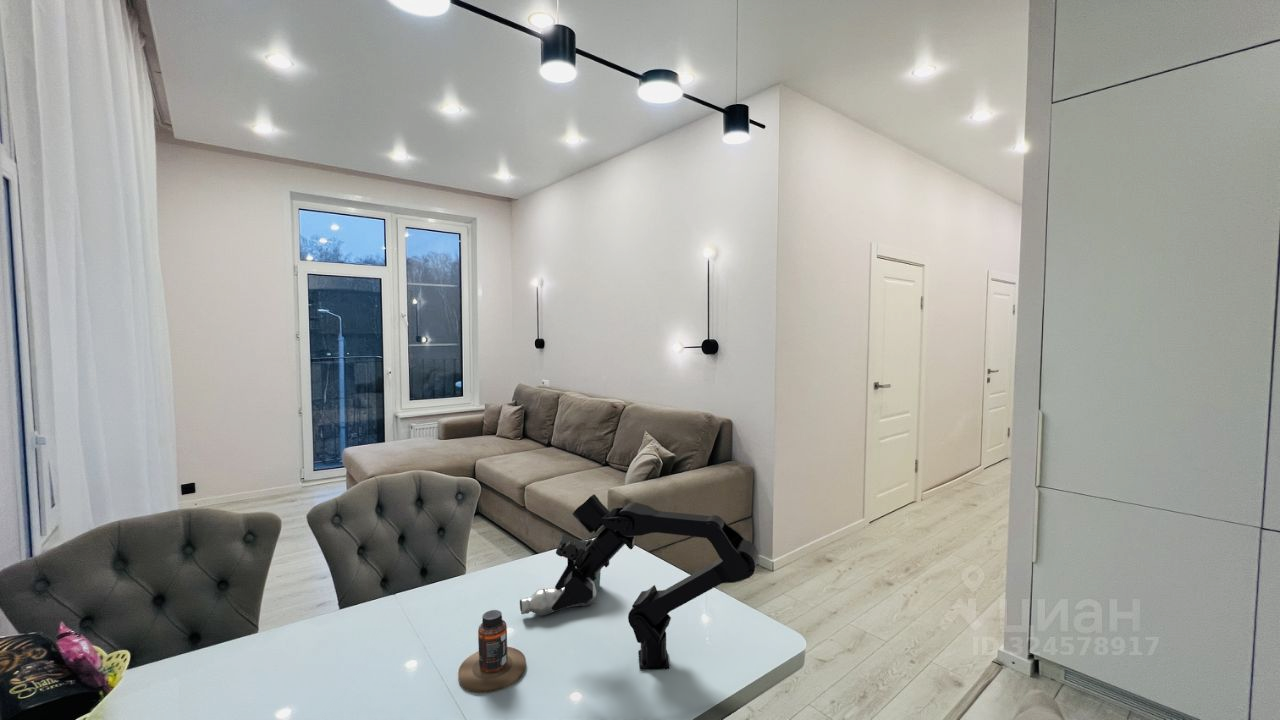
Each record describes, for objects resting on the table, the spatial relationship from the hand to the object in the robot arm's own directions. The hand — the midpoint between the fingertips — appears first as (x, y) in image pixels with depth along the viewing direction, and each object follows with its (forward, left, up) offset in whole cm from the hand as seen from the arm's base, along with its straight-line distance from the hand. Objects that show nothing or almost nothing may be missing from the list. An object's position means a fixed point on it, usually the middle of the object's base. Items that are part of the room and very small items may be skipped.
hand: (554, 598), depth 115 cm
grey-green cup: (+31, -5, -14) cm, 34 cm away
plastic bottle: (+23, -8, -10) cm, 27 cm away
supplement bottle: (-4, +13, -12) cm, 18 cm away
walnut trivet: (-4, +13, -13) cm, 19 cm away
